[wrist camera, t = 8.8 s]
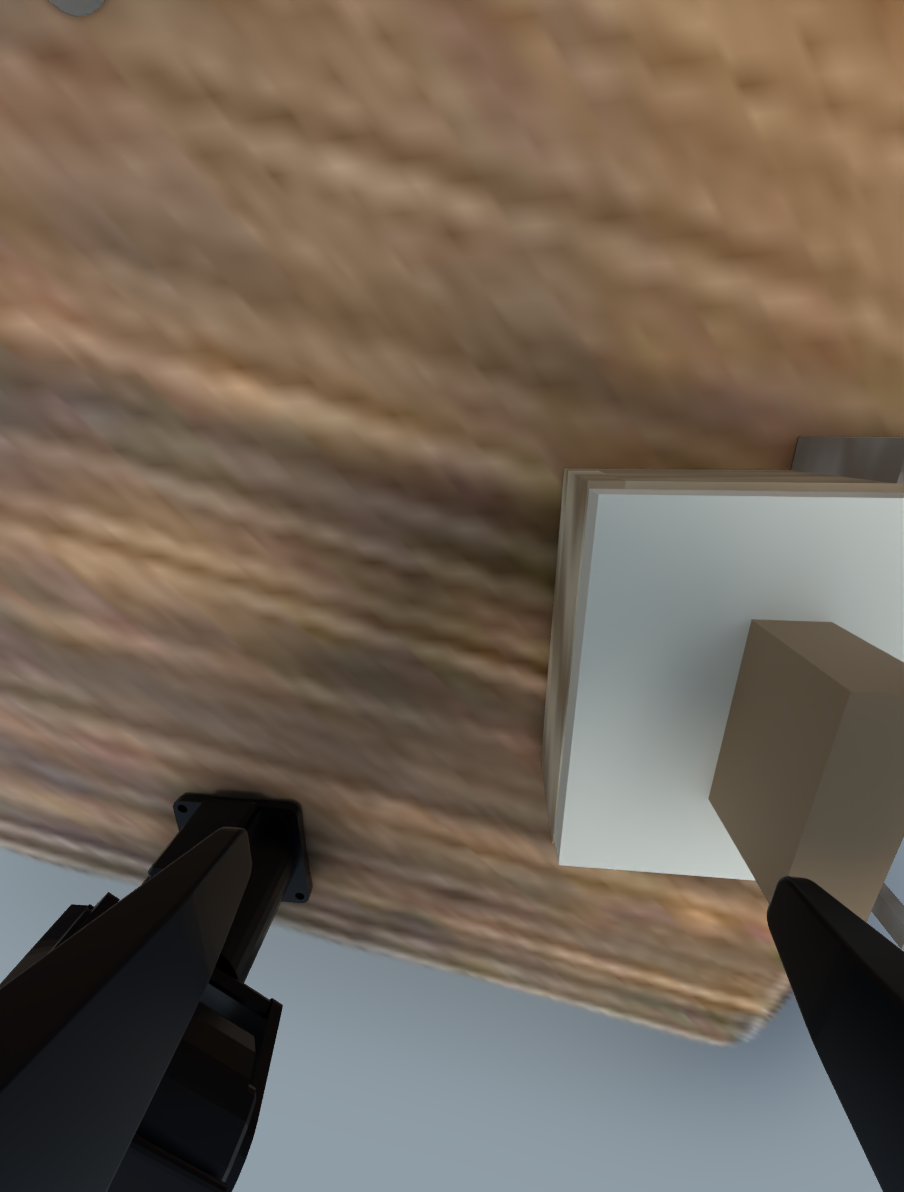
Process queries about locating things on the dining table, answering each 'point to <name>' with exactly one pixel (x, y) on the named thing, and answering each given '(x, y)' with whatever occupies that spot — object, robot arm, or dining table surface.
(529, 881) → the dining table surface
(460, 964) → the dining table surface
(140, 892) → the robot arm
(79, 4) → the adjustable wrench
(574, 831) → the cabinet door
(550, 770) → the cabinet
